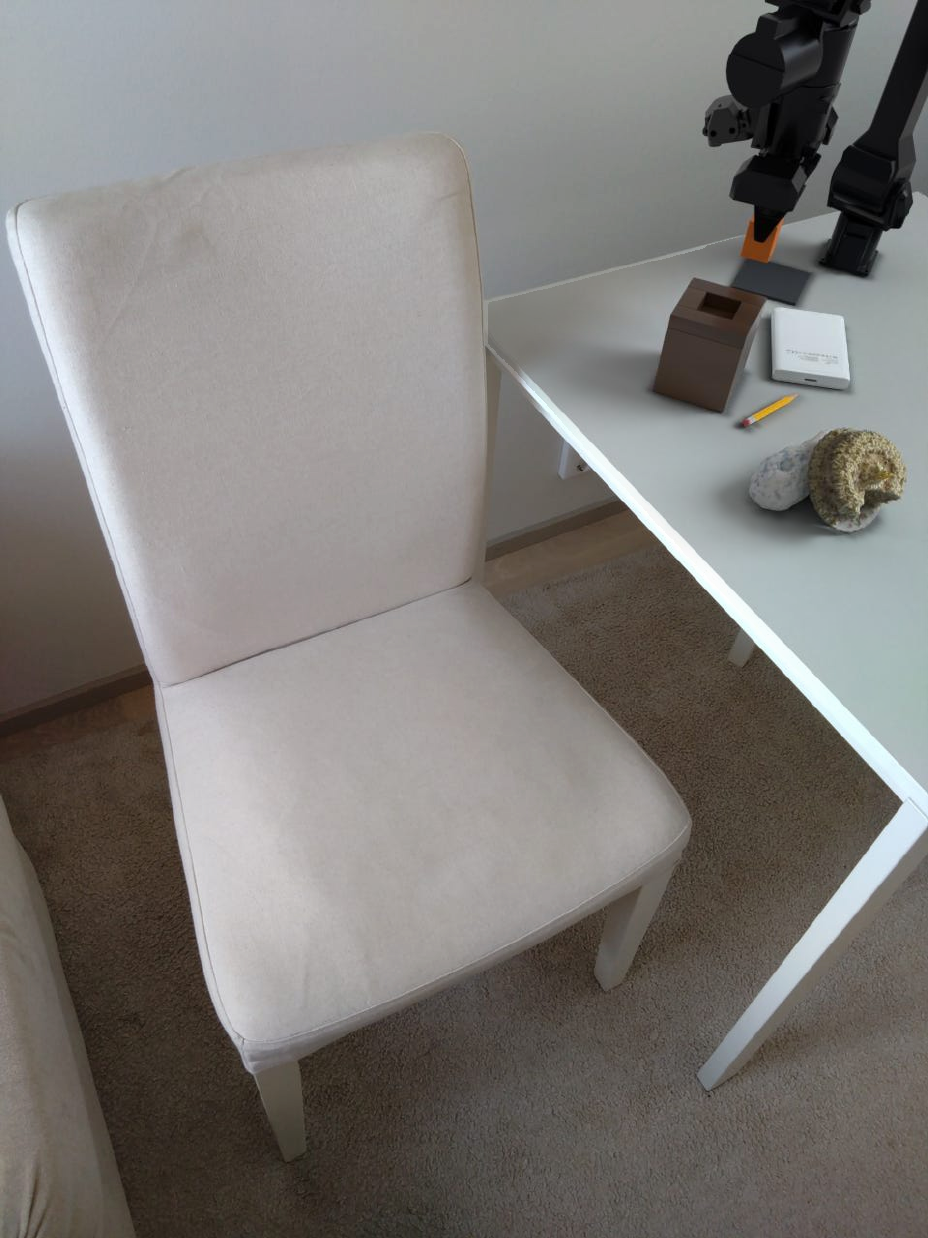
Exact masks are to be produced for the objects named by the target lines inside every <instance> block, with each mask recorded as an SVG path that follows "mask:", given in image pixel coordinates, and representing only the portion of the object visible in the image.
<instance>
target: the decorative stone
mask: <svg viewBox="0 0 928 1238" xmlns="http://www.w3.org/2000/svg"><path fill="white" fill-rule="evenodd" d="M834 430H835V429H825V430H820V431H819V432H818V433H817V434H816V435H814V436H813V437H812V438H810V439H808V440H805V441H803V442H802V443H801V444H795V445H790V446H787V447H785V448H783V449H782V450H780V451H778V452H775V453H774V454H772V455H769V456H768V457H766V458H765V459H764V460H763V461H761V462H760V464H759V465H758V466H757V467H756V469H755V470H754V472H753V475H752V476H751V479H750V484H749V485H750V486H749V489H748V490H749V493H748V494H749V496H750V498H751V499H752V500H753V502H755V503H756V504H757V505H758V506H759V507H760V508H763V509H764V510H765V509H766V510H772V511H776V512H777V511H778V512H780V511H784V510H788V509H789V508H790V507H791V506H793V505H796V504H797V503H799V502H801V501H803V500H804V499H806V498H807V497H808V496H810V494H809V491H808V484H807V482H808V481H807V478H808V473H807V472H808V467H809V465H808V463H809V461H810V458H811V454H812V452H813V449H814V447H815V446H816V445H817V444H818V441H819V440H820V439H822V438H823V437H824V435H825V434H828V433H829V432H830V431H834Z"/></svg>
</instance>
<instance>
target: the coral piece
mask: <svg viewBox="0 0 928 1238" xmlns="http://www.w3.org/2000/svg"><path fill="white" fill-rule="evenodd" d="M833 430H834V431H830V432H829V433H828V434H825V435H824V437H823V438H822V439H820V440H819V441H818V444H817V445H816V446H815V447H814V449H813V452H812V454H811V458H810V461H809V463H808V465H809V467H808V472H807V473H808V478H807V481H808V482H807V484H808V491H809V498H810V501H811V502H812V505H813V510H815V512H816V513H817V516H818V517H819V518H821V521H823V522H824V523H826V524H827V525H828V527H831V528H833V529H835V530H836V531H840V532H842V533H853V532H858V531H860V530H863V529H865V528H867V526H869V525H870V524H871V523H872V522H873V521H874V520H875V519H876V516H877V515H878V514H879V512H880V509H881V508H882V506H883V504H890V502H893V501H895V502H897V501H898V500H901V499H902V494H903V493H904V492H905V483H906V482H908V479H907V478H908V475H907V474H905V473H906V472H907V466H906V465H907V463H906V462H904V461H903V457H902V456H903V454H902V453H901V452H900V451H899V450H898V447H897V446H895V445H894V443H893V441H892V440H889V439H888V438H887V437H886V436H884V435H882V434H879V433H878V432H876V431H874V430H868V429H862V430H858V429H857V430H856V429H853V428H851V427H848V428H847V427H841V428H838V427H837V428H835V429H833Z"/></svg>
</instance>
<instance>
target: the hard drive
mask: <svg viewBox="0 0 928 1238" xmlns="http://www.w3.org/2000/svg"><path fill="white" fill-rule="evenodd" d="M844 320H845V319H844V317H843V316H842V315H839V314H831V313H824V312H816V311H810V310H803V309H795V308H788V307H779V306H778V307H777V306H776V307H774V308H773V309H772V312H771V315H770V329H771V331H770V332H771V370H772V371H771V379H773V380H775V381H779V382H785V383H793V384H799V385H807V386H813V387H819V388H820V387H821V388H827V389H835V390H846V389H848V387H849V385H850V382H851V376H850V367H849V356H848V355H849V354H848V347H847V336H846V335H847V334H846V327H845V321H844Z"/></svg>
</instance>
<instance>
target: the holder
mask: <svg viewBox="0 0 928 1238" xmlns="http://www.w3.org/2000/svg"><path fill="white" fill-rule="evenodd" d="M767 299H768V298H767V297H764V296H760V295H757V294H753V293H749V292H746V291H742V290H739V289H735V288H732V286H728V285H724V284H720V283H717V282H713V281H709V280H706V279H702V278H699V277H694V276H693V278H692V279H691V280H690V282H689V284H688V285H687V287H686V289H685V290H684V292H683V294H681V297H680V298H679V300H678V302H677V303H676V304H675V306H674V308H673V309H672V311H671V313H670V314H669V318H668V322H667V327H666V330H665V335H664V340H663V344H662V348H661V352H660V356H659V361H658V364H657V365H658V366H657V370H656V375H655V378H654V383H653V387H652V392H655V393H658V394H662V395H665V396H668V397H671V398H674V399H677V400H680V401H683V402H686V403H690V404H693V405H697V406H700V407H702V408H705V409H709V410H712V411H715V412H717V413H722V414H724V412H725V410H726V409H727V407H728V404H729V403H730V400H731V398H732V396H733V394H734V392H735V391H736V388H737V386H738V384H739V382H740V380H741V377H742V376H743V373H744V371H745V368H746V366H747V365H746V364H747V362H748V359H749V356H750V354H751V349H752V346H753V343H754V340H755V337H756V334H757V330H758V328H759V325H760V321H761V318H762V315H763V313H764V309H765V306H766V303H767Z"/></svg>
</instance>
